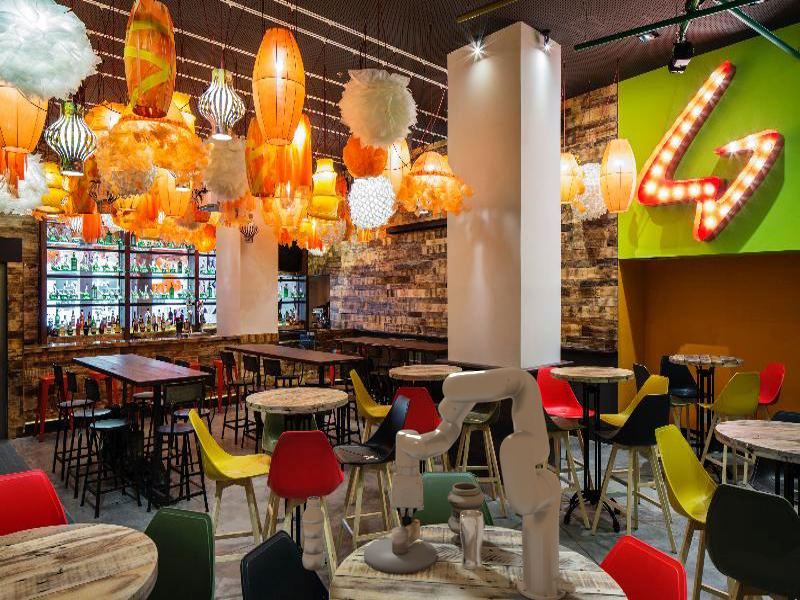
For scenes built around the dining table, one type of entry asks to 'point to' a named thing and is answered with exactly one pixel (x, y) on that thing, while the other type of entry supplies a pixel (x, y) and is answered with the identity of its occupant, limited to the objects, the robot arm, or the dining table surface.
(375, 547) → the dial base
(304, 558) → the plastic bottle
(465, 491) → the apothecary jar
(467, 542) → the beer glass
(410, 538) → the tan knob handle
